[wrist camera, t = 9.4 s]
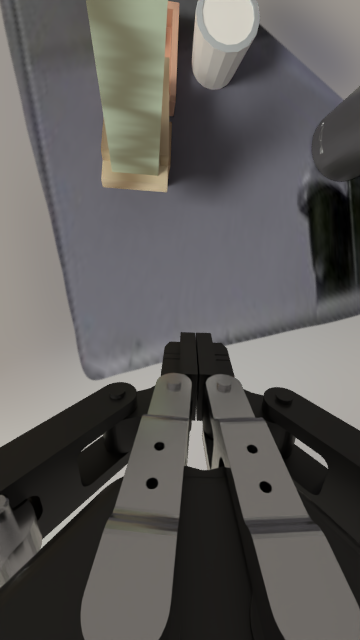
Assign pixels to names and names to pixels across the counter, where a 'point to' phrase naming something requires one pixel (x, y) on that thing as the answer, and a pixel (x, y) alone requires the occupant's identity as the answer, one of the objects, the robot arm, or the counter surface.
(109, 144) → the ramp
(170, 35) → the dish
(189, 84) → the counter surface
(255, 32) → the white cylinder
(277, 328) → the counter surface
